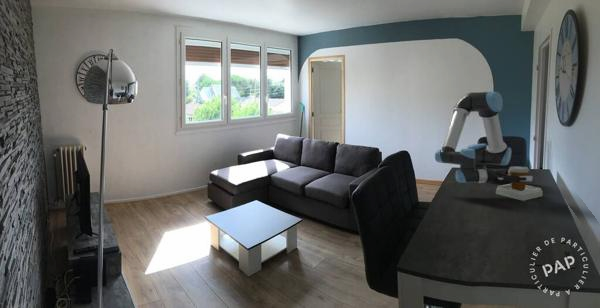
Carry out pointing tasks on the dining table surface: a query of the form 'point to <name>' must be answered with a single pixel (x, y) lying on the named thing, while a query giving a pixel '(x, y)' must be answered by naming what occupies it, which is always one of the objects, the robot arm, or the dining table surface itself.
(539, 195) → the square rimmed tray
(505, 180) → the robot arm
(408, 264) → the dining table surface
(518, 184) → the disposable coffee cup
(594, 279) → the dining table surface
